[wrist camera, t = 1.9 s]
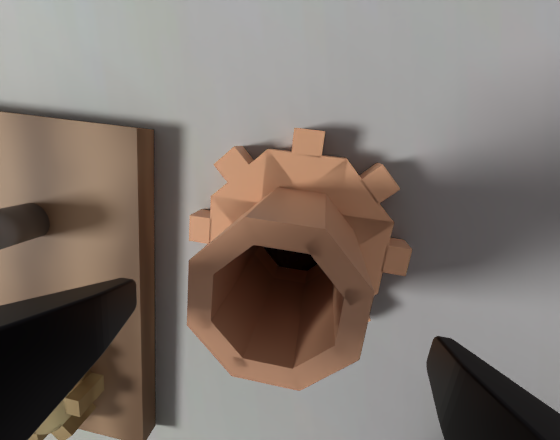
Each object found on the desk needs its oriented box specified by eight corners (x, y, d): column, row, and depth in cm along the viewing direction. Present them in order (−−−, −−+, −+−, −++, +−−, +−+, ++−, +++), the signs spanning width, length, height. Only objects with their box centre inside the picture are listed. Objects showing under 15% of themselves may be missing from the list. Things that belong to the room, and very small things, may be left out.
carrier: (153, 129, 16) (55, 121, 10) (155, 425, 21) (92, 527, 16) (-50, 105, 17) (-236, 86, 12) (2, 387, 23) (-106, 468, 17)
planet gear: (427, 143, 14) (535, 143, 7) (379, 340, 17) (419, 485, 10) (205, 118, 15) (97, 96, 8) (197, 306, 18) (114, 411, 11)
